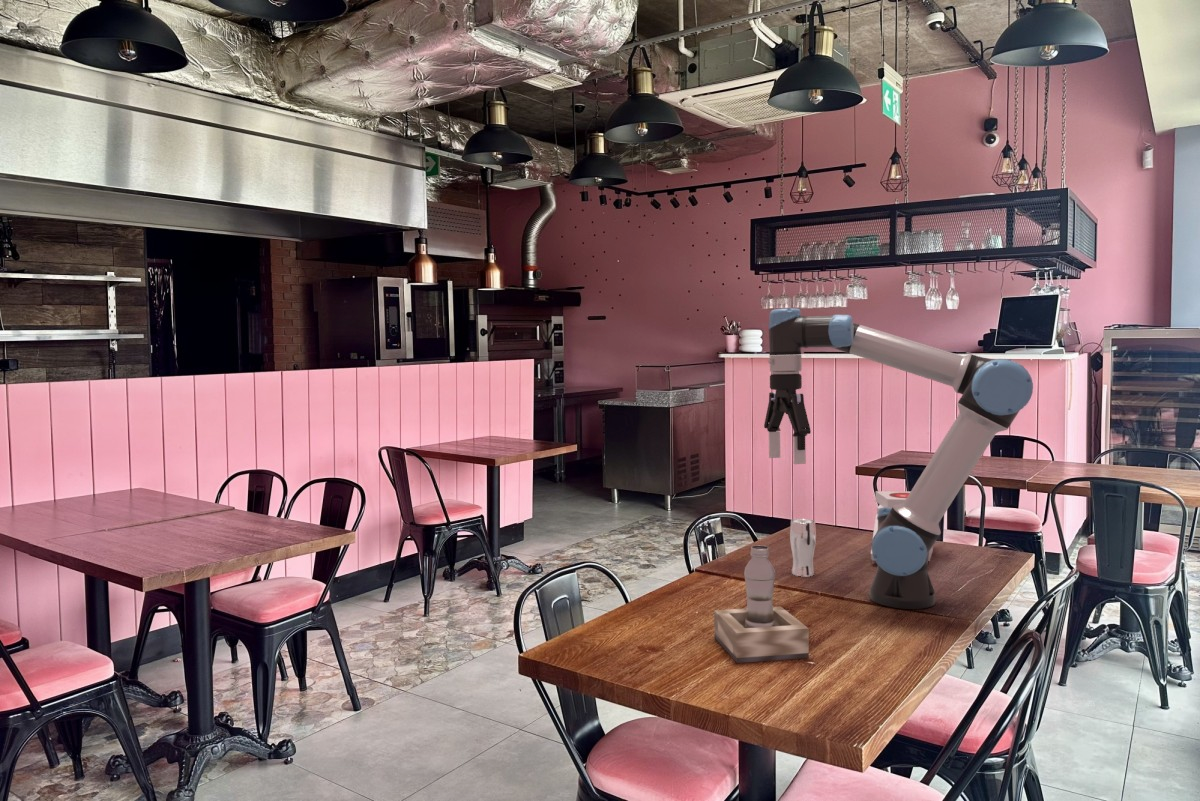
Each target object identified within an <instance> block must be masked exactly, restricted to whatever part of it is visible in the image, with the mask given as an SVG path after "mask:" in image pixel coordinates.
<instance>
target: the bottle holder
mask: <svg viewBox="0 0 1200 801" xmlns="http://www.w3.org/2000/svg"><path fill="white" fill-rule="evenodd" d="M746 613H747V607H746V608H735V609H734V608H732V609H731V608H730V609H716V610H714V613H713V614H714V615H713V616H714V618H713V619H714V623H713V625H714V631H713V632H714V634H713V635H714V637H713V638H714V639H715V640H716V641H717V643H719V645H720V646H721V647H722V648H723V649H724V650H725V652H727V654H728V655H729V657H731V658H732V659H733V661H735V663H736V664H740V663H741V664H742V663H753V662H754V663H756V662H767V661H768V662H771V661H784V660H797V659H798V660H799V659H809V657H810V656H809V655H810V654H809V653H810V652H809V649H810V644H809V643H810V642H809V641H810V640H809V636H810V634H809V633H810V630H809V629H810V628H809V627H808V626H806V625H805V624H804V623H802V622H801V621H800V620H798V618H796V617H795V616H793V615H792V614H791V613H790V612H788V611H787V610H786V609H784V607H782V606H780V605H779V606H773V616H774V622H775V626H773V627H758V628H744V626H745V620H746Z"/></svg>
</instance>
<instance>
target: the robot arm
mask: <svg viewBox="0 0 1200 801" xmlns="http://www.w3.org/2000/svg"><path fill="white" fill-rule="evenodd" d="M768 317H769V318H768V320H769V321H768V329H767V330H768V344H769V346H768V348H769V351H768V352H769V359H768V360H767V361H768V364H769V372H771V373H772V374H770V375H769V389H770V390H773V391H774V390H775V391H774V392H771V391H770V392H769V394H768V403H767V409H766V416H765V420H764V423H763V427H764V429H767V432H768V458H769V459H777V458H778V459H779V458H781V432H780V431H781V428H780V426H781V425H782V424H781V423H782V421H783V418H784V415H785V414H786V415H787V416H788V419H789V422H790V425H791V428H792V430H793V432H794V433H793V434H792V436H791V437H793V438H792V445H793V452H792V453H793V465H804V464H805V465H806V464H807V463H806V462H807V461H806V437H807V436H808V434H811V431H812V430H811V427H810V423H809V419H808V414H807V410H806V406H805V405H806V404H805V400H804V399H805V398H804V397H805V396H804V393H797V390H801V389H802V388H803V387H802V382H803V381H802V375H801V373H800V372H802V369H803V368H802V348H803V349H804V348H805V349H808V348H831V349H834V350H837V351H841V352H843V353H848V354H850V355H853V356H857V357H860V358H863V359H867V360H868V361H869V360H870V361H873V362H875V363H878V364H880V365H881V364H882V365H885V366H888V367H890V368H894V369H897V370H900V371H904V372H906V373H909V374H912V375H915V376H918V377H921V378H925V379H928V380H930V381H934V382H937V383H940V384H943V385H945V386H950V387H952V388H953V390H954V393H957V394H960V395H961V396H960V398H959V400H958V401H957V404H956V405H957V408H958V411H959V413H958V416H956V418H955V420H954V421H953V422H952V424H951V426H950V427H949V430H948V431H947V432H946V434H945V436H944V437H943V439H942V441H941V443H939V446H938V447H937V449H936V450H935V452H934V454H933V455H932V456H931V458H930V459H929V462H928V463H927V465H926V467H925V468H924V469H923V471H922V473H921V474H920V476H919V477H918V479H917V481H916V482H915V484H914V486H913V487H912V488H911V491H910V494H909V495H908V497H907V498H906V500H905V502H904V503H902V504H897V505H894V506H893V507H883V508H880V509H879V511H878V516H877V520H878V530H877V532H876V535H875V536H874V538H873V537H872V541H871V548H870V549H872V554H873V557H874V559H875V561H874V562H875V563H876V564H877V568H876V571H875V574H874V576H873V580H872V583H871V586H870V589H869V599H870V600H871V601H872V602H874V603H876V604H879V605H882V606H886V607H889V608H895V609H903V610H904V609H905V610H906V609H907V610H919V609H928V608H930V607H931V608H932V607H933V606H935V604H936V594H935V591H934V587H933V583H932V579H931V577H930V574H929V570H928V569H929V568H928V567H929V566H928V563H929V562H928V552H929V551H930V549H931V548H932V546H933V547H934V545H935V543H936V542H937V540H938V538H939V537H940V535H941V533H942V532H941V529H940V525H939V524H940V522H941V520H942V518H943V517H944V515H945V514H946V512H947V511H948V509H949V507H950V506H951V505H952V504H953V501H955V498H956V496H957V495H958V494H959V492H960V490H961V489H962V487H963V486H964V484H965V482H966V481H967V480H968V478H969V477H970V475H971V473H972V472H973V470H974V469H975V467H976V466H977V464H978V462H979V460H980V459H981V458H982V456H983V455H984V453H985V451H986V450H987V448H988V447H989V445H990V444H991V442H992V440H993V439H994V438H995V436H996V434H998V433H1000V432H1005V431H1008V429H1009V427H1010V426H1011V425H1012V423H1013V421H1014V420H1015V419H1016V418H1017V416H1018V414H1019V413H1020V411H1021V410H1023V409H1024V408H1025V407H1026V406H1027V405H1028V403H1029V402H1030V400H1031V398H1032V397H1033V396H1032V395H1033V392H1034V391H1033V389H1034V383H1033V379H1032V376H1031V374H1030V373H1029V371H1028V370H1027V369H1026V368H1025V367H1024V365H1022V364H1020V363H1018V362H1017V361H1013V360H1011V359H1009V358H998V359H997V358H989V357H988V358H987V357H982V356H978V355H974V354H972V353H969V354H967V355H964V356H963V355H960V354H957V353H954V352H952V351H951V352H950V351H947V350H944V349H941V348H938V347H935V346H931V345H927V344H924V343H921V342H917V341H914V340H912V339H908V338H904V337H901V336H899V335H895V334H892V333H890V332H889V333H888V332H885V331H882V330H879V329H875V328H871V327H870V326H866V325H863V324H858V323H856V322H854V320H853V317H852V316H851V315H850V314H830V315H829V314H827V315H814V316H813V315H811V316H808V315H807V316H806V315H803V316H802V312H801V309H799V308H794V307H793V308H792V307H791V308H776V309H772V310H771V311H770V312H769V316H768Z"/></svg>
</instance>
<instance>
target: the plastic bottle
mask: <svg viewBox="0 0 1200 801" xmlns="http://www.w3.org/2000/svg"><path fill="white" fill-rule="evenodd" d="M769 549H770V548H769V546H767V545H757V544H756V545H752V546H751V547H750V557H751V559H750V560H749V561H748V562H747V564H746V566H745V568H744V572H743V574H744V582H745V588H746V608H747V613H746V620H745V626H744V628H758V627H773V626H775V622H774V616H773V607H774V605H773V603H774V602H773V598H774V589H775V588H774V587H775V580H776V579H775V578H776V571H775V568H774V566H773V564H772V563H771V562H770V560H769V557H770V554H769V553H770V552H769V551H770V550H769Z"/></svg>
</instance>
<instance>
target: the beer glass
mask: <svg viewBox="0 0 1200 801" xmlns="http://www.w3.org/2000/svg"><path fill="white" fill-rule="evenodd" d="M816 530H817V528H816V521H815V520H813V519H810V518H793V519H791V520H790V530H789V531H790V532H789V541H790V547H791V548H790V550H791V553H792V568H791V575H792V574H793V575H792V576H794V575H795V576H794V577H798V576H801V577H800V578H810V576H811V577H814V576H813V575H815V571H814V570H815V569H814V564H813V563H814V554H815V549H816V542H817V540H816V539H817V531H816Z"/></svg>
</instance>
